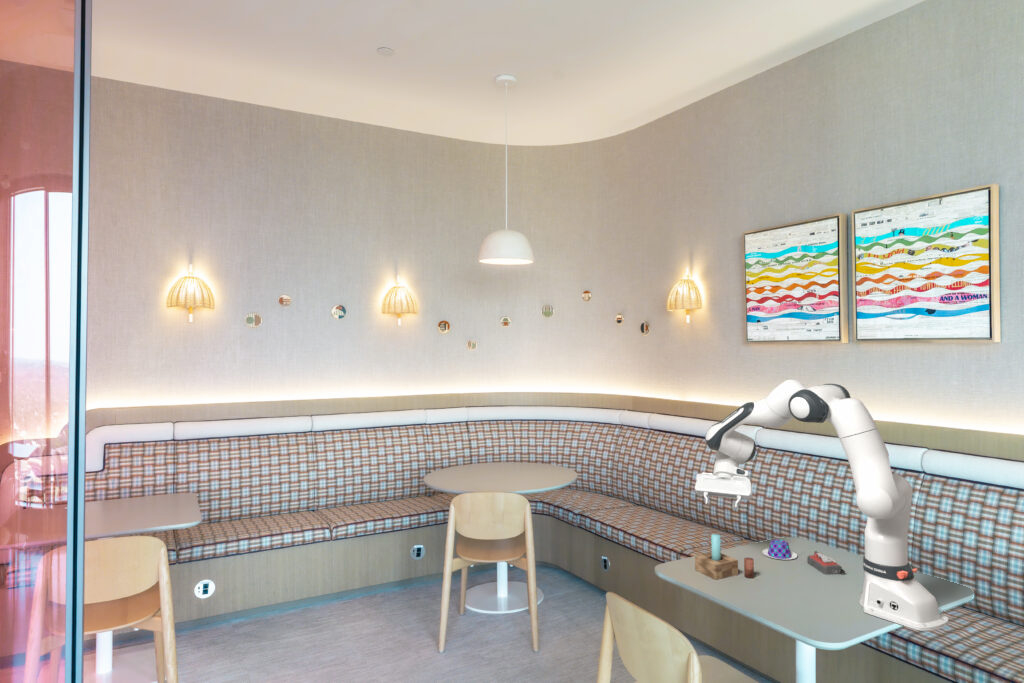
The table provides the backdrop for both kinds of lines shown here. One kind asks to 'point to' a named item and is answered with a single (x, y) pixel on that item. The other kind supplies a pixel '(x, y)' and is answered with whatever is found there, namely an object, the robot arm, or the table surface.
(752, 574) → the short pin
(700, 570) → the hole block
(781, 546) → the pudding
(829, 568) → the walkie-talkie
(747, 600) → the table surface
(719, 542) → the long pin
